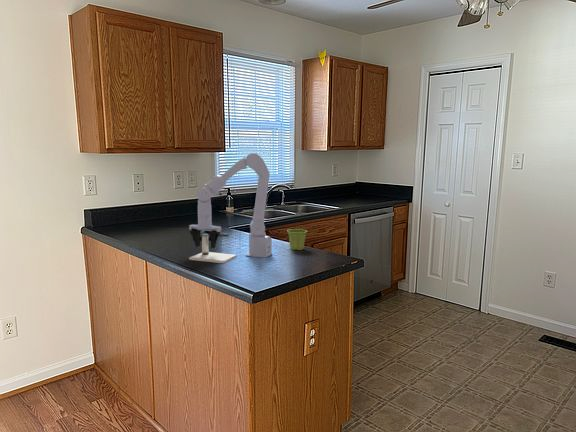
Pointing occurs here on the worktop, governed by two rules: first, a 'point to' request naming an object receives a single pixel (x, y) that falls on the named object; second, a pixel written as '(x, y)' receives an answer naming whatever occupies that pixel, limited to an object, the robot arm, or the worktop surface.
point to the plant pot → (297, 238)
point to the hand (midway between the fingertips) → (205, 247)
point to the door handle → (209, 234)
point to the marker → (205, 244)
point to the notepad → (213, 257)
